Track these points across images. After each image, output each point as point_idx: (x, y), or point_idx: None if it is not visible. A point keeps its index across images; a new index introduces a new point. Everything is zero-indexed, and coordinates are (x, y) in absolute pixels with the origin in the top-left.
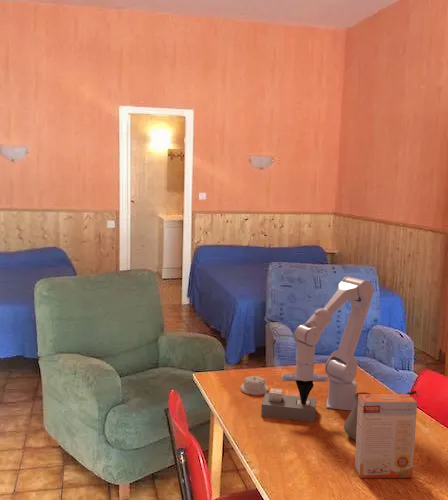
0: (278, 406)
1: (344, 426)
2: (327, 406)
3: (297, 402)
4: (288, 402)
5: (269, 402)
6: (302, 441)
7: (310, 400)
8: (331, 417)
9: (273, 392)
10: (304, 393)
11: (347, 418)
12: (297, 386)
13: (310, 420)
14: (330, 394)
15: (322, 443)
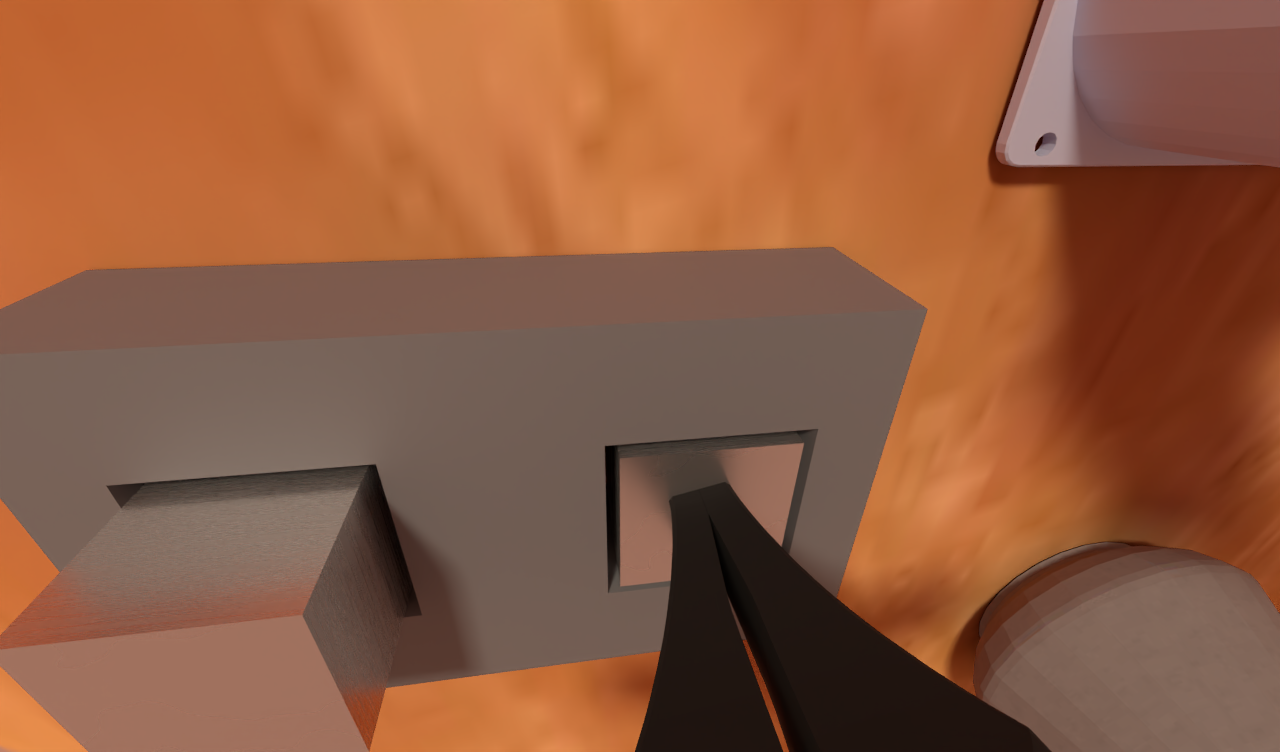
0: (407, 681)
1: (990, 701)
2: (1017, 153)
3: (626, 542)
4: (501, 570)
5: None
6: None
7: (816, 419)
8: (956, 392)
9: None
10: (763, 658)
11: (1063, 738)
12: (646, 729)
13: None
14: (1268, 83)
15: None
